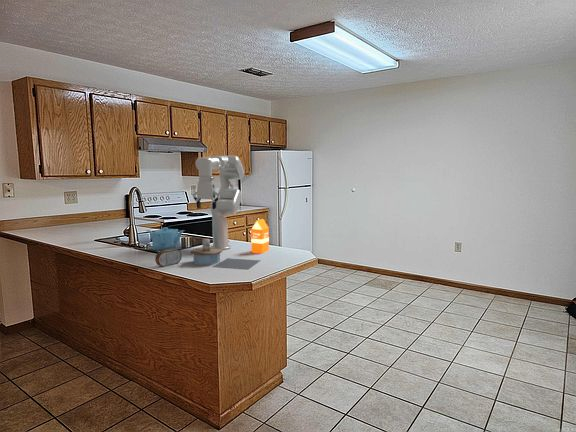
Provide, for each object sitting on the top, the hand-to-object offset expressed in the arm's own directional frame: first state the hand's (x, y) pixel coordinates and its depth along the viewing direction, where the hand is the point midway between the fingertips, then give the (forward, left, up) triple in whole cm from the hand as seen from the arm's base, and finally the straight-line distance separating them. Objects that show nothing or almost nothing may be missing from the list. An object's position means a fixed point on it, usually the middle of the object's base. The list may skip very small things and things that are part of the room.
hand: (206, 208), depth 227 cm
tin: (+25, -10, -28) cm, 39 cm away
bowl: (+15, +7, -28) cm, 33 cm away
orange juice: (-20, +26, -28) cm, 43 cm away
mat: (+15, +25, -28) cm, 40 cm away
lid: (+15, +7, -22) cm, 28 cm away
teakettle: (-6, -32, -28) cm, 43 cm away
